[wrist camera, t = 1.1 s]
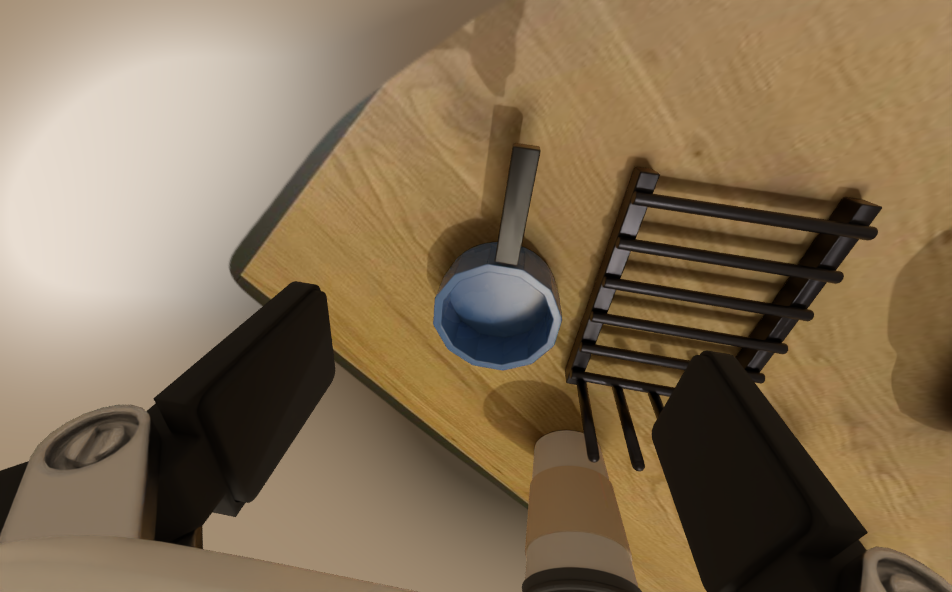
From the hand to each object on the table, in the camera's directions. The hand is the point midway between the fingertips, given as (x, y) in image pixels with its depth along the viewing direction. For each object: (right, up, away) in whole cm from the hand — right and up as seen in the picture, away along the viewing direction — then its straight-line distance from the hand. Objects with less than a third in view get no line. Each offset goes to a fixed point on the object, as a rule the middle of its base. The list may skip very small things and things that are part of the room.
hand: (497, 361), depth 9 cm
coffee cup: (+9, -15, +29) cm, 34 cm away
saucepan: (+2, +5, +18) cm, 18 cm away
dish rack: (+15, +1, +18) cm, 24 cm away
